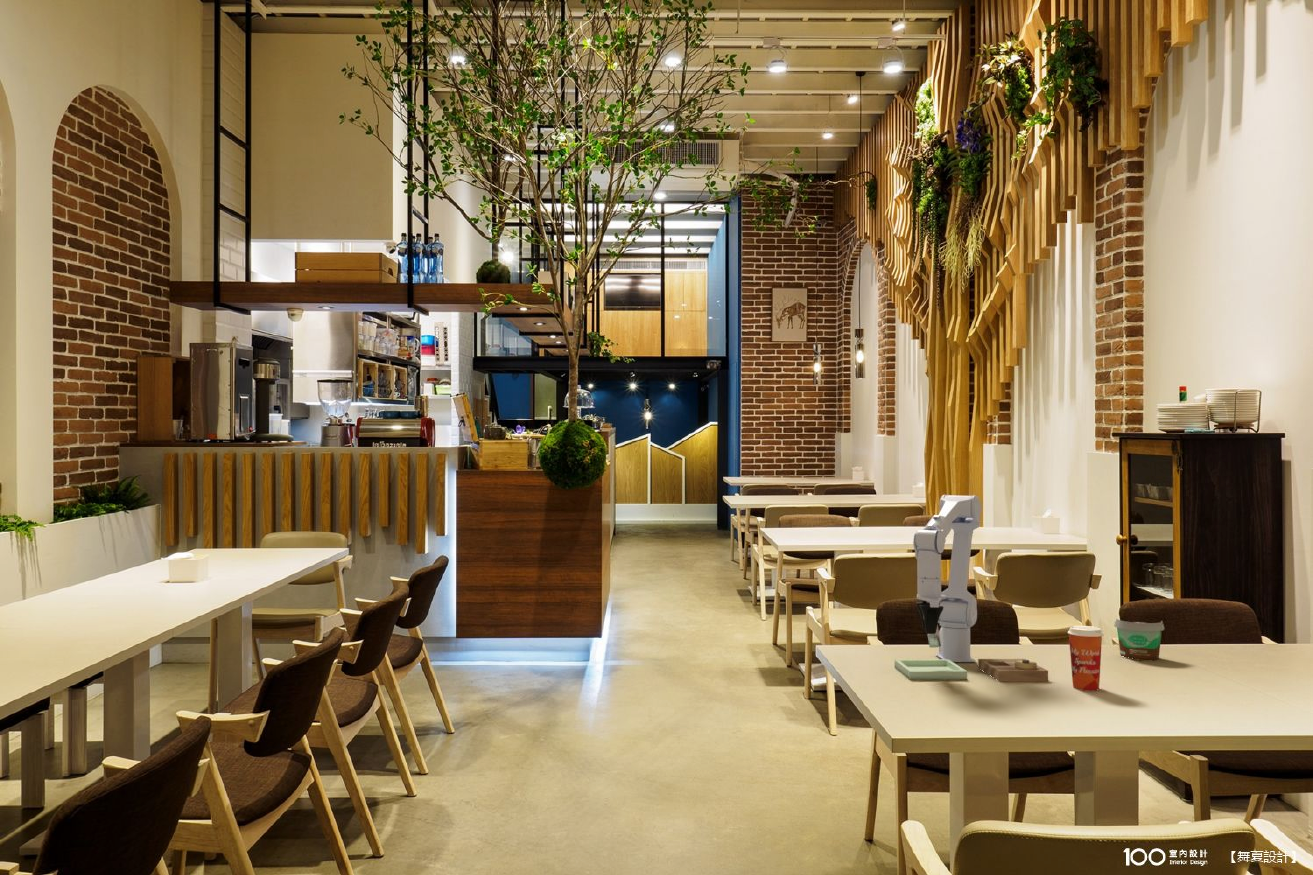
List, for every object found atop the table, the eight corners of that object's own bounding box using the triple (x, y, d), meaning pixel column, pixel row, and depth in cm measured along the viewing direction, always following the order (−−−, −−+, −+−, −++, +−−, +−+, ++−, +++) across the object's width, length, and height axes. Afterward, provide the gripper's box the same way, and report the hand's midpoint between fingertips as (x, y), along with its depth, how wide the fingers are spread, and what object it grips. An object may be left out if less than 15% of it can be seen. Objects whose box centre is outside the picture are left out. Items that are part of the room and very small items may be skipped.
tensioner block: (978, 668, 247) (978, 651, 247) (1024, 668, 247) (1024, 651, 247) (998, 681, 233) (998, 663, 233) (1048, 681, 233) (1047, 663, 233)
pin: (926, 646, 243) (921, 615, 244) (941, 644, 243) (936, 613, 243) (929, 648, 239) (924, 617, 240) (943, 646, 239) (938, 615, 240)
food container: (1118, 659, 257) (1117, 622, 258) (1114, 655, 263) (1114, 618, 264) (1169, 662, 254) (1169, 624, 254) (1164, 658, 260) (1164, 620, 260)
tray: (894, 667, 248) (894, 659, 248) (948, 667, 248) (948, 659, 248) (909, 679, 234) (909, 671, 234) (967, 679, 234) (967, 671, 234)
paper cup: (1066, 689, 224) (1066, 629, 225) (1069, 682, 231) (1069, 624, 231) (1103, 693, 221) (1103, 631, 221) (1105, 686, 228) (1104, 626, 228)
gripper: (951, 581, 234) (951, 637, 234) (939, 574, 249) (940, 627, 248) (921, 581, 235) (922, 637, 235) (912, 574, 249) (912, 626, 249)
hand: (929, 632), depth 241 cm, fingers closed on pin, 3 cm apart
